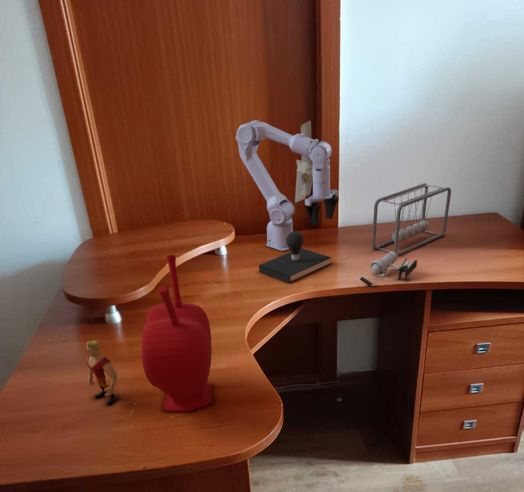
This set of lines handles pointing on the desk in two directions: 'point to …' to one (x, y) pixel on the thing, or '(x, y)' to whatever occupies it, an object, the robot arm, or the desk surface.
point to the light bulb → (295, 244)
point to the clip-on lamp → (382, 264)
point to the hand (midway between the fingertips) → (322, 221)
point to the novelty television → (178, 349)
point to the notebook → (294, 265)
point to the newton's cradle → (417, 227)
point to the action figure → (100, 370)
